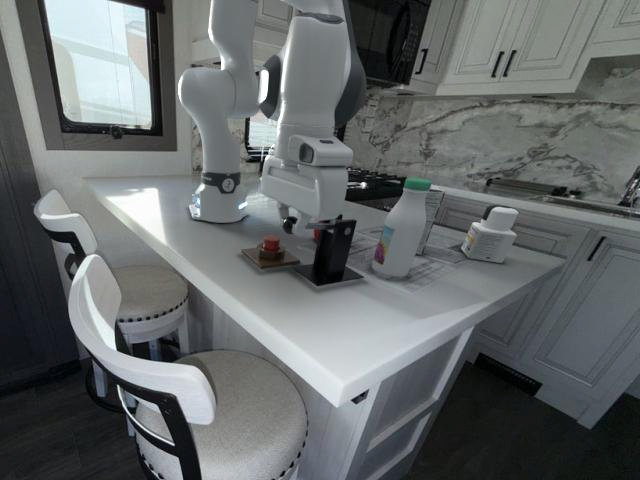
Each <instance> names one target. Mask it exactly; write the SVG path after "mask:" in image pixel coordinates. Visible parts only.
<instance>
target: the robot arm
mask: <svg viewBox="0 0 640 480" xmlns="http://www.w3.org/2000/svg"><path fill="white" fill-rule="evenodd" d="M259 1H260V0H210V8H209V17H208V18H209V19H208V31H207V32H208V36H209V39H210V42H211V43H212V45H213V46H214V47H215V48H216V49H217V51H218V54H219V57H220V62H221V64H220V65H221V69H220V68H213V67H207V66H196V67H190V68H187V69H185V70H184V72H183V73H182V74H181V76H180V79H179V82H178V91H177V92H178V97H179V101H180V104H181V106H182V107H183V109H184V110H185V111H186V113H187V114H188V115H189V116H190V117H191V118H192V120H193V121H194V123H195V126H196V127H197V130H198V132H199V135H200V139H201V146H202V170H201V175H200V182H201V183H200V185H198V188H197V189H196V190H195V193H193V194H191V202H193V203H192V204H189V205H188V209H189V212H190V215H191V218H192V219H193V220H197V221H204V222H210V223H217V224H218V223H219V224H220V223H221V224H228V223H235V222H239V221H241V220H242V219H243V218H244V217H247V216H248V212H247V211H245V209H244V207H245V206H247V205H248V201H245V200H244V198H245V197H244V190H243V189H242V187H241V186H240V185H241V181H242V176H241V175H242V173H241V171H240V169H241V168H240V166H241V143H240V141H239V140H238V138H237V137H236V136H235V135H233V134H232V132H231V130H230V126H229V122H228V119H229V120H243V119H249V118H251V117H254V116H257V114H258V113H259V112H260V111H261V113H262V114H263V116H264V117H266V119H268V120H271V121H273V122H277V123H276V130H275V131H276V132H275V141H274V143H272V146H271V147H270V148H269V150H268V154H267V155H266V156H265V158H264V162H263V167H262V173H261V181H260V191H261V194H262V196H265V197H268V198H270V199H272V200H274V201H277V202H276V209H277V214H278V217H279V218H278V226H279V227H280V228H282V229H283V227H282V224H283V221H284V220H285V219H286V218H287V217H289V216H290V209H289V208H292V209H293V210H296V211H297V213H296V218H298V220H297V222H296V224H293V225H292V233H293V234H292V235H293V236H296V237H302V236H305V232H306V229H305V227H306V225H307V224H308V222H310V221H311V219H312V218H313V219H315V220H318V221H320V220H333V219H336V218H337V217H338V216H339V215H340V214H342V211H343V210H344V209H343V208H344V204H345V199H346V196H347V189H348V185H349V172H348V170H347V168H346V167H348V166H350V165H351V164H352V162H353V159H354V151H353V149H352V148H350V147H349V146H348V145H346V144H345V143H343V142H342V141H341V140H340V139H338V137H336V136H335V135H334V133H335V129H340V128H342V127H343V126H345V125H346V124H348V123H349V122H350V121H351V120H352V119H354V117H355V116H357V114H358V113H359V111H360V110H361V109H362V107H363V104H364V102H365V99H366V95H367V76H366V72H365V68H364V66H363V64H362V61H361V59H360V56H359V53H358V48H357V45H356V37H355V34H354V28H353V27H354V26H353V22H352V16H351V11H350V6H349V1H348V0H279V1H280V2H283V3H285V4H287V5H289V6H291V7H293V8H294V9H297V10H298V11H300V13H298V14H296V15H294V16H293V17H292V19H291V20H290V24H289V27H288V32H287V37H286V40H285V43H284V44H283V46H282V48H281V49H280V51H279V52H278V53H276V54H273V55H272V56H270V57H269V58H268V59H267V60H266V61H265V62H264V63H263V65H262V66H261V67H260V68H259V72H258V77H257V75H256V74H257V73H256V70H255V63H254V55H253V53H254V52H253V47H254V45H253V44H254V36H255V35H254V34H255V28H256V21H257V15H258V14H257V13H258V9H259ZM244 201H245V202H244Z"/></svg>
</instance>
